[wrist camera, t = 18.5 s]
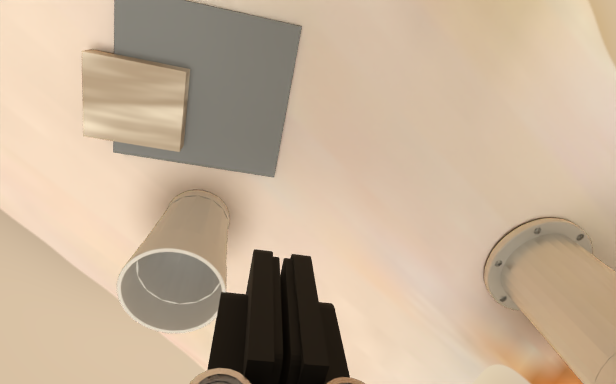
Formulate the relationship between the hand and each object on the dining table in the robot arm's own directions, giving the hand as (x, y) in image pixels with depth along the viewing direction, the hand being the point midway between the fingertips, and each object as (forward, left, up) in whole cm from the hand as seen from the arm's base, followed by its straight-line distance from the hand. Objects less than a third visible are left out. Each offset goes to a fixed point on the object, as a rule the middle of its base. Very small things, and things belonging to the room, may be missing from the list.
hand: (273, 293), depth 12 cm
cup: (+5, +13, -27) cm, 31 cm away
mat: (+6, 0, -27) cm, 28 cm away
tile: (+11, -2, -26) cm, 28 cm away
